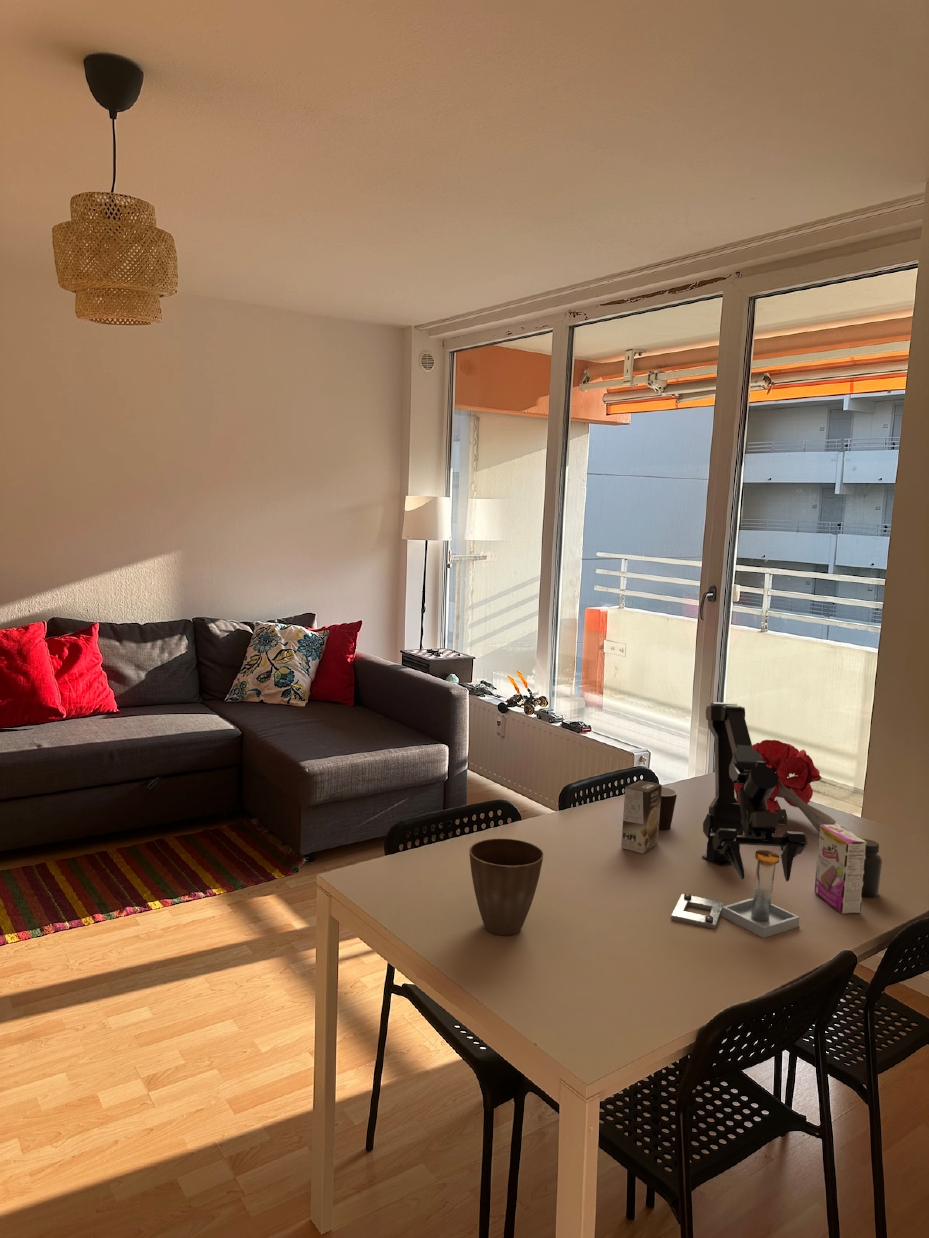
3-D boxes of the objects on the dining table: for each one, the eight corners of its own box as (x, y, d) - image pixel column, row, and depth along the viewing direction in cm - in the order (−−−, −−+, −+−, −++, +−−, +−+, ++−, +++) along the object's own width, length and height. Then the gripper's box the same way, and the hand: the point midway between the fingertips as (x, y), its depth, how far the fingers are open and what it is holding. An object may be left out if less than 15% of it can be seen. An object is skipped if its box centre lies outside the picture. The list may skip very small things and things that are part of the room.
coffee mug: (677, 832, 239) (680, 796, 238) (645, 831, 239) (648, 795, 238) (668, 817, 251) (670, 783, 250) (638, 816, 251) (640, 782, 250)
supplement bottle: (847, 895, 203) (851, 844, 201) (845, 883, 209) (850, 834, 208) (880, 900, 200) (885, 849, 199) (877, 889, 207) (882, 839, 205)
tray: (756, 905, 195) (757, 896, 195) (798, 926, 186) (799, 916, 186) (721, 916, 189) (722, 906, 189) (763, 937, 180) (764, 928, 180)
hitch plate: (681, 898, 198) (682, 891, 197) (723, 906, 194) (723, 899, 194) (671, 919, 187) (671, 912, 186) (715, 929, 183) (715, 921, 183)
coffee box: (643, 854, 223) (647, 792, 221) (620, 848, 226) (624, 787, 224) (658, 844, 230) (662, 784, 228) (635, 838, 234) (639, 779, 232)
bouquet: (822, 843, 255) (739, 773, 269) (870, 784, 243) (780, 714, 258) (791, 868, 239) (705, 792, 254) (841, 807, 228) (747, 731, 242)
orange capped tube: (752, 910, 191) (759, 848, 189) (774, 917, 188) (782, 854, 186) (744, 918, 187) (752, 854, 185) (767, 925, 184) (775, 861, 182)
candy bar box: (812, 893, 203) (818, 823, 201) (832, 892, 204) (838, 823, 202) (840, 914, 192) (847, 841, 190) (861, 914, 193) (868, 841, 191)
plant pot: (467, 909, 188) (470, 836, 186) (537, 912, 188) (541, 839, 186) (465, 942, 173) (468, 863, 171) (541, 946, 173) (545, 867, 171)
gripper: (719, 791, 189) (729, 861, 179) (808, 795, 188) (823, 866, 178) (708, 814, 197) (716, 882, 188) (793, 819, 197) (806, 887, 187)
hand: (765, 879), depth 185 cm, fingers open, 9 cm apart
